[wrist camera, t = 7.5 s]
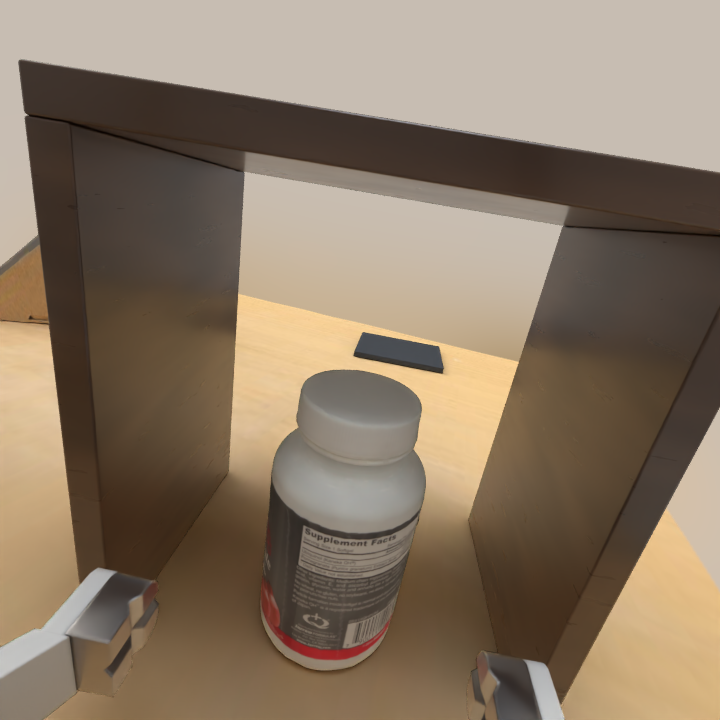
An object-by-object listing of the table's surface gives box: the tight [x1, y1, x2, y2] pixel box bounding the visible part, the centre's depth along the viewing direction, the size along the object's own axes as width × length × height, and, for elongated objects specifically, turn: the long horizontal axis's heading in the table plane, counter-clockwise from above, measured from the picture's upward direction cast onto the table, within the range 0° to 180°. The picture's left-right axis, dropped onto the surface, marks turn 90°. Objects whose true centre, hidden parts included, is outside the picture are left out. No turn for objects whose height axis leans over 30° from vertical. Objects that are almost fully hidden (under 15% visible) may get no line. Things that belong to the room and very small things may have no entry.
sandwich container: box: [0, 235, 49, 324], centre depth 40 cm, size 9×15×15 cm, turn 102°
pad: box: [354, 332, 444, 373], centre depth 48 cm, size 10×8×1 cm
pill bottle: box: [260, 370, 426, 671], centre depth 15 cm, size 5×5×10 cm
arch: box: [18, 59, 720, 705], centre depth 15 cm, size 10×16×17 cm, turn 84°
